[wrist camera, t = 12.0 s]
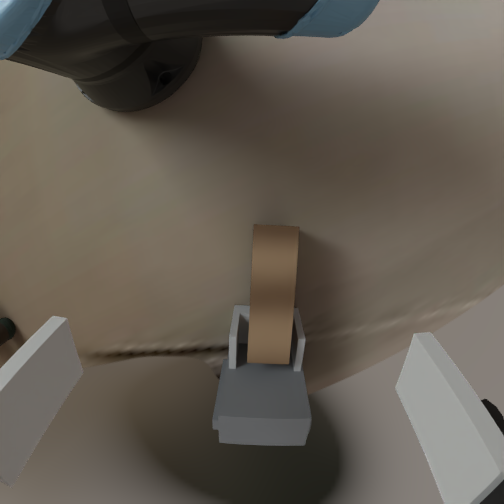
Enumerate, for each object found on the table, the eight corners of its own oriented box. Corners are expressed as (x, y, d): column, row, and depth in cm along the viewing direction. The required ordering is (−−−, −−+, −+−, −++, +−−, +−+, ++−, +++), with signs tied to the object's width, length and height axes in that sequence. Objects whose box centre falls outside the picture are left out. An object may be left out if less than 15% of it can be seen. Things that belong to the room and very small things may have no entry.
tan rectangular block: (284, 342, 35) (288, 364, 29) (248, 340, 35) (247, 362, 29) (291, 226, 33) (299, 226, 28) (254, 224, 34) (253, 224, 28)
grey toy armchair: (223, 368, 39) (209, 450, 26) (223, 304, 36) (204, 380, 23) (299, 371, 39) (312, 453, 25) (309, 308, 36) (331, 385, 23)
